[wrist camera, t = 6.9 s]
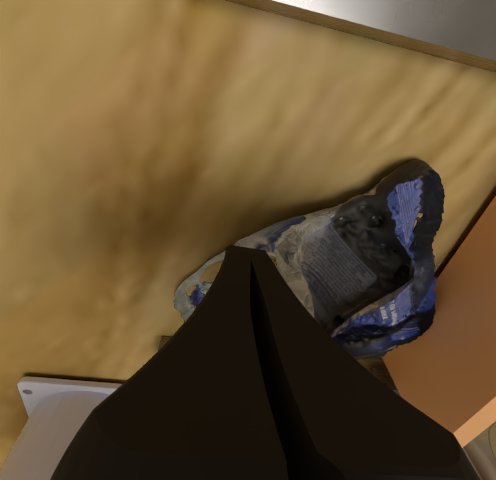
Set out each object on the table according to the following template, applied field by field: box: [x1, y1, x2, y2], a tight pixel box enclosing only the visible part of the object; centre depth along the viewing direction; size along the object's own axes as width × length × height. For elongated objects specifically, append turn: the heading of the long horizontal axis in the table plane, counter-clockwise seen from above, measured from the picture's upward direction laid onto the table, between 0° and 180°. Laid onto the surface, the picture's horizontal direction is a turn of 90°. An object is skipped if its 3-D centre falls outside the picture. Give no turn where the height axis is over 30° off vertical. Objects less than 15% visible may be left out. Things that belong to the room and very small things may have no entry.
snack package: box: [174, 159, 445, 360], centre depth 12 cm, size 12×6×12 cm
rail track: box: [158, 0, 496, 396], centre depth 13 cm, size 18×18×2 cm
